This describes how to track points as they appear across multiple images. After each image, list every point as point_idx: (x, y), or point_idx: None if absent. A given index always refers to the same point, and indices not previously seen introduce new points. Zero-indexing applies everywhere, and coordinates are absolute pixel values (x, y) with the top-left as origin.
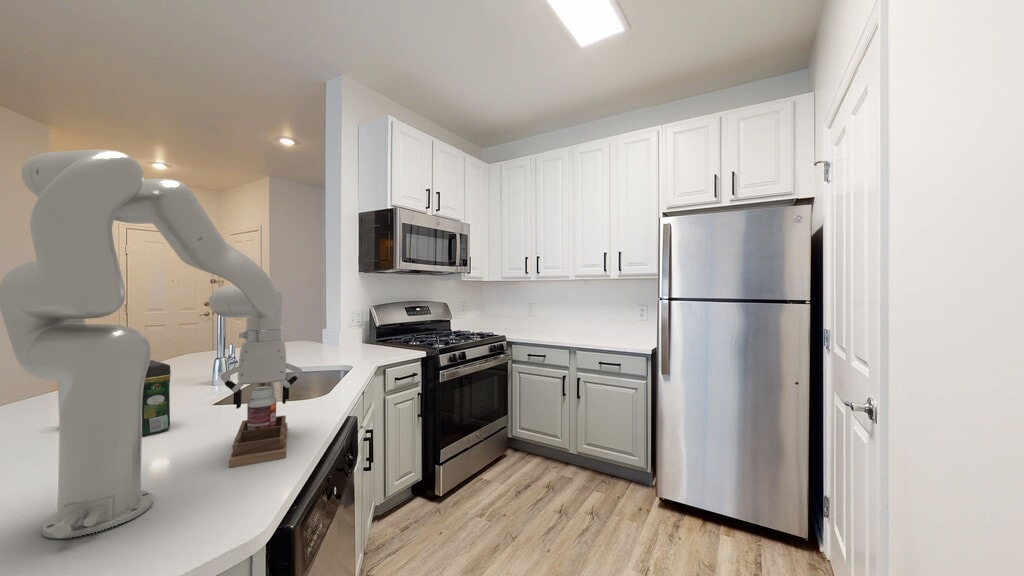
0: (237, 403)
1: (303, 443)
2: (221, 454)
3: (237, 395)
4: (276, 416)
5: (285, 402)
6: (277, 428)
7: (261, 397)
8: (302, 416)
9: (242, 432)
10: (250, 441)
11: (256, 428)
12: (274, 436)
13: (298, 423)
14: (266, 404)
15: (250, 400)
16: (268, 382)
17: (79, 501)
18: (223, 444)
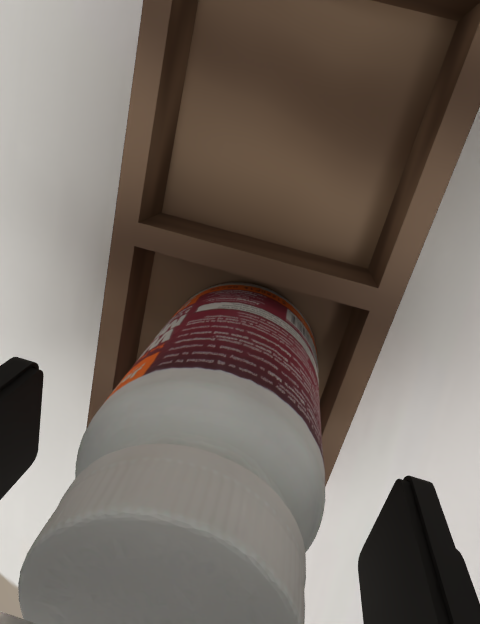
0: (435, 514)
1: (67, 104)
2: (468, 247)
3: (466, 607)
4: None
5: (11, 359)
6: (163, 226)
7: (202, 451)
8: (29, 533)
9: (373, 287)
10: (323, 252)
11: (278, 313)
12: (194, 223)
13: (55, 452)
14: (176, 377)
15: (300, 525)
16: (8, 616)
17: None
18: (413, 399)
